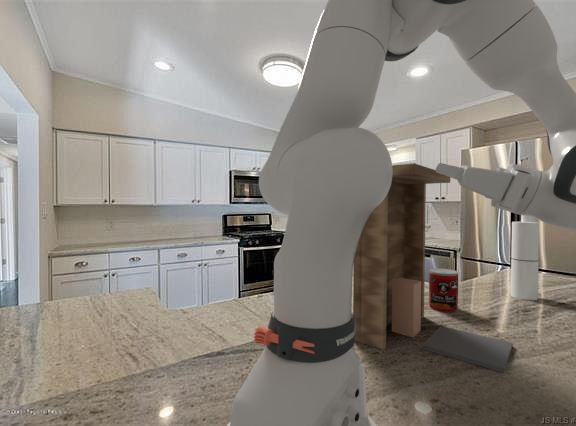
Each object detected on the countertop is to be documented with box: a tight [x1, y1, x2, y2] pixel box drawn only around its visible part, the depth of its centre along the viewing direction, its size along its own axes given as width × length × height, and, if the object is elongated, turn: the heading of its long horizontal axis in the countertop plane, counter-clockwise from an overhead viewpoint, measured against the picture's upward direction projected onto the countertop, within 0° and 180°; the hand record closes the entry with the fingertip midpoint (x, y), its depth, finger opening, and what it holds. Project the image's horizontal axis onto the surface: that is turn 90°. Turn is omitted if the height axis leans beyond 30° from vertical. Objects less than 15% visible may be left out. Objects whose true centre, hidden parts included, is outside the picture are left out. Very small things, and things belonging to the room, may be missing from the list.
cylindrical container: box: [510, 221, 540, 301], centre depth 102 cm, size 7×7×25 cm
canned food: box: [428, 267, 459, 313], centre depth 91 cm, size 8×8×11 cm
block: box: [391, 278, 422, 338], centre depth 73 cm, size 5×5×12 cm
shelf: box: [352, 163, 451, 351], centre depth 73 cm, size 13×26×38 cm, turn 139°
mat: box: [422, 325, 514, 374], centre depth 65 cm, size 14×14×1 cm
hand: (436, 166), depth 65 cm, fingers open, 8 cm apart
